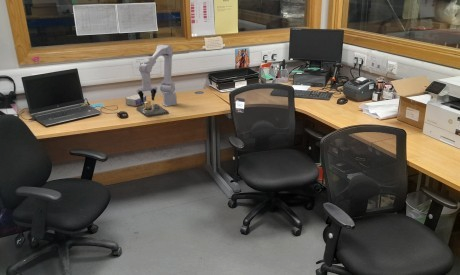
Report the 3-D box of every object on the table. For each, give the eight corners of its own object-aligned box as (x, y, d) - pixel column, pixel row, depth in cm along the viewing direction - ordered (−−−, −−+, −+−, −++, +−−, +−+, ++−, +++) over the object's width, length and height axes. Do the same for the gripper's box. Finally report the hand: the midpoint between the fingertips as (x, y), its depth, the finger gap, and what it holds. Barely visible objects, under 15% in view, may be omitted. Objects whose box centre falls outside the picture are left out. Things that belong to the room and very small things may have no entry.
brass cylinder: (150, 110, 279) (149, 100, 276) (152, 111, 275) (151, 102, 273) (144, 111, 277) (143, 101, 274) (146, 112, 274) (145, 102, 271)
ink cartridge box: (136, 107, 291) (148, 101, 303) (135, 99, 289) (148, 94, 301) (125, 105, 295) (138, 99, 307) (125, 98, 293) (137, 92, 305)
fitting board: (157, 106, 292) (156, 101, 291) (168, 113, 277) (168, 108, 276) (136, 109, 284) (136, 105, 283) (147, 117, 269) (146, 112, 267)
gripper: (153, 79, 275) (155, 98, 280) (133, 81, 267) (135, 101, 272) (158, 81, 269) (159, 100, 274) (137, 84, 262) (139, 103, 267)
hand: (147, 101), depth 273 cm, fingers open, 7 cm apart
